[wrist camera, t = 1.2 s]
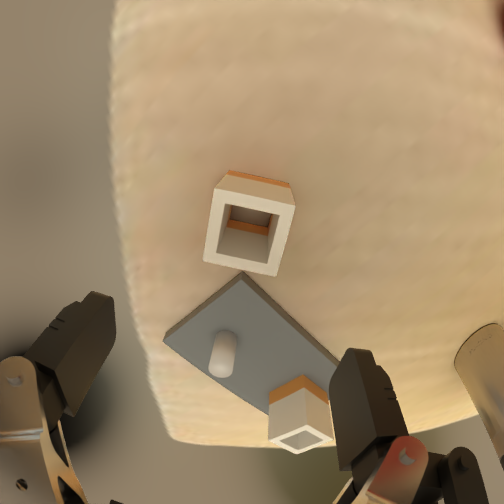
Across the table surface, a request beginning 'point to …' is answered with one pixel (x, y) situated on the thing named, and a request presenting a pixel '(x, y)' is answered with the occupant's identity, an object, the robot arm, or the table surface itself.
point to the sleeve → (249, 235)
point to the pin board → (261, 361)
